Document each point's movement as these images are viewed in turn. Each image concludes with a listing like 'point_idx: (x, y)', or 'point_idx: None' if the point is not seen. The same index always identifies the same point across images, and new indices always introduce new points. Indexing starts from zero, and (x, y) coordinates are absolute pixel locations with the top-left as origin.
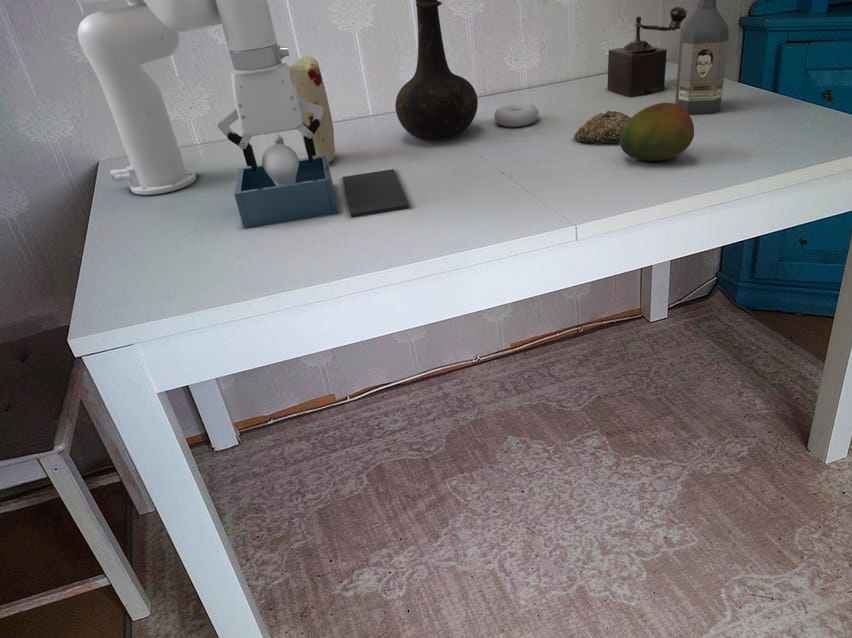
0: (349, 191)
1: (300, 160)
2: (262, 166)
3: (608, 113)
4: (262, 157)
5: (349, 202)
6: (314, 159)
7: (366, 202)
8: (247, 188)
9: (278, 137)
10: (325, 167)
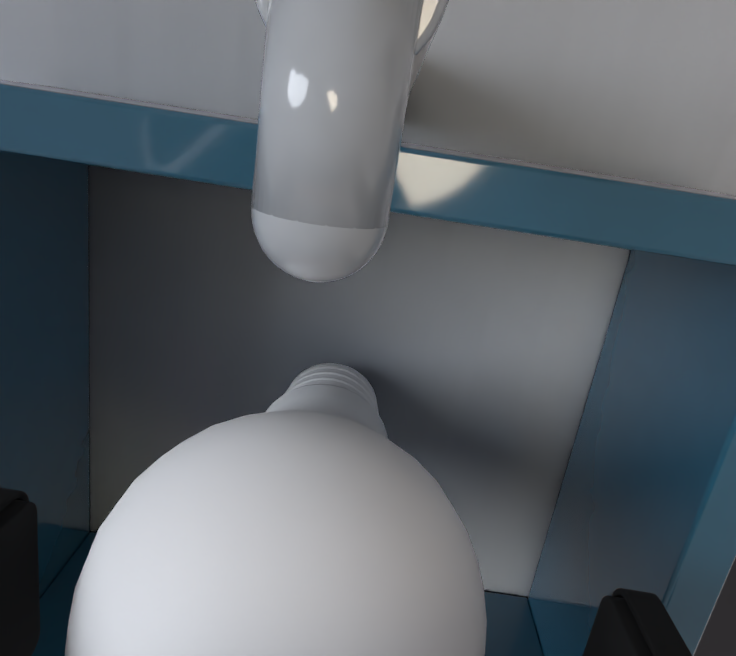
0: None
1: (547, 235)
2: (111, 166)
3: None
4: (65, 649)
5: None
6: (699, 256)
7: (728, 635)
8: (16, 245)
9: (339, 246)
10: (684, 597)
